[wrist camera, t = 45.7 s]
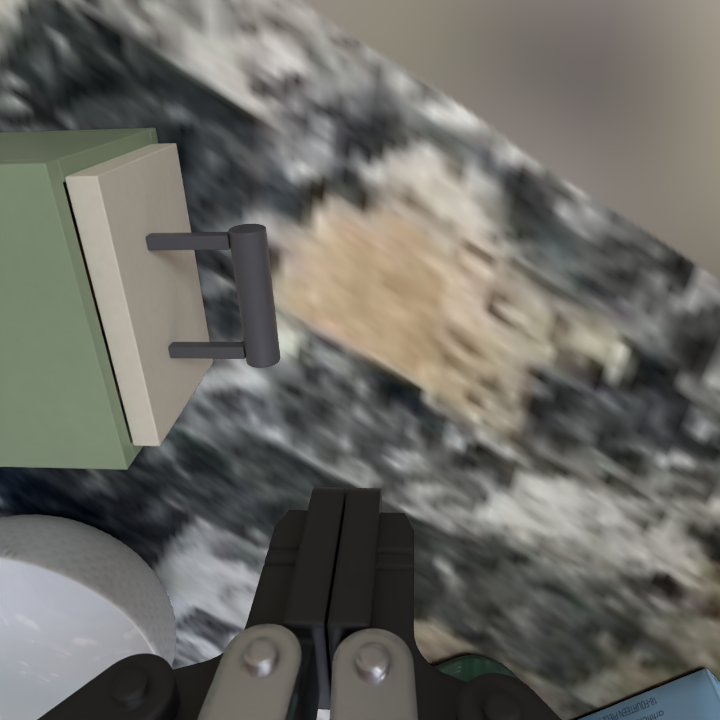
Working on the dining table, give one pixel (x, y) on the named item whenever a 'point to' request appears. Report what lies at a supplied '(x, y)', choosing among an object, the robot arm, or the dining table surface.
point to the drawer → (163, 285)
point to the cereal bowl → (71, 610)
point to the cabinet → (54, 309)
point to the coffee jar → (472, 667)
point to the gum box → (670, 701)
